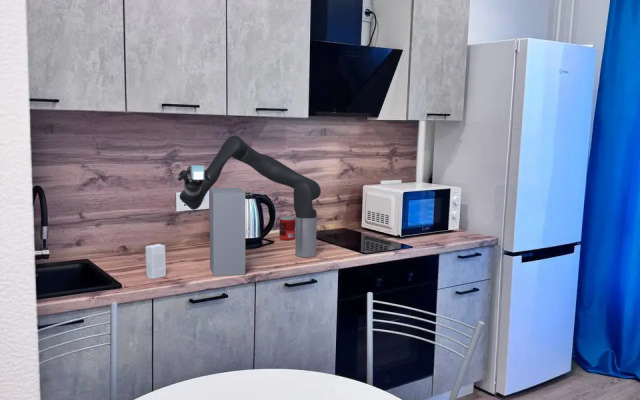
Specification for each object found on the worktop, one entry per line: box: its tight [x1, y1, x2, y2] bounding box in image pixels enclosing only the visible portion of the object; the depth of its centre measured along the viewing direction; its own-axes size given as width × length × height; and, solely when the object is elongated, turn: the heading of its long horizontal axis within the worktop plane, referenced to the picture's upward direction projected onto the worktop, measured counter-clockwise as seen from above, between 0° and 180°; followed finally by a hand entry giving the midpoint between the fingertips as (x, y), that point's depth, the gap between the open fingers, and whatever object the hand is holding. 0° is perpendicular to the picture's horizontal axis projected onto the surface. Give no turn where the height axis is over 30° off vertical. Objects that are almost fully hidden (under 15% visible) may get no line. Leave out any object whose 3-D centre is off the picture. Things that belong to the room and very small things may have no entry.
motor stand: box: [209, 187, 246, 277], centre depth 234 cm, size 14×12×32 cm
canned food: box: [278, 215, 296, 242], centre depth 298 cm, size 8×8×11 cm
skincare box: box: [145, 243, 167, 280], centre depth 225 cm, size 6×4×12 cm
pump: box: [190, 164, 205, 180], centre depth 241 cm, size 22×5×5 cm, turn 16°
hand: (195, 168), depth 246 cm, fingers closed on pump, 3 cm apart
